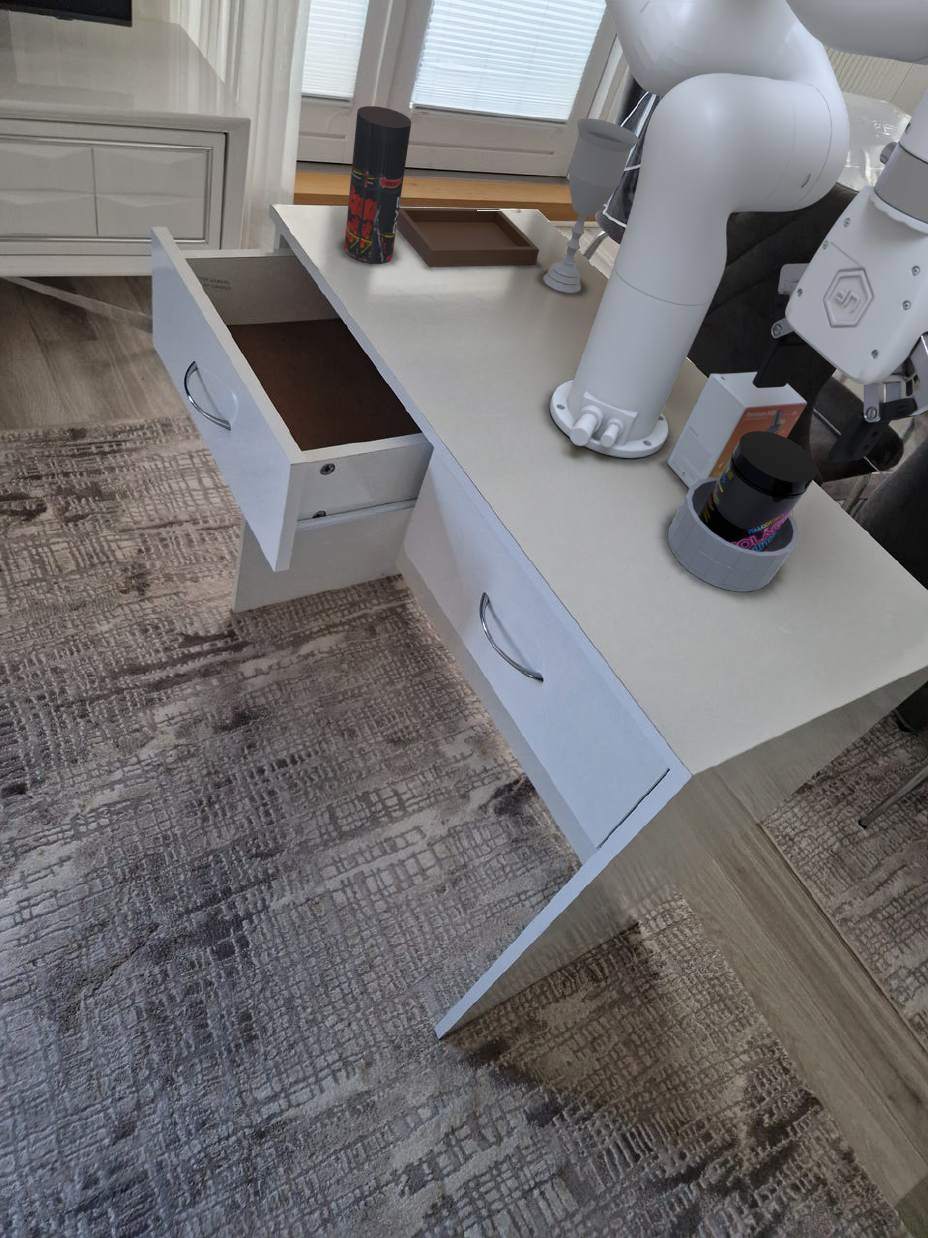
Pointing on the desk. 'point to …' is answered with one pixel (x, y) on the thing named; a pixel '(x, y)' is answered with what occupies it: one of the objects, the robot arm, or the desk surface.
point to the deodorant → (376, 183)
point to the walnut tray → (465, 237)
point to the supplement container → (758, 490)
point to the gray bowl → (724, 547)
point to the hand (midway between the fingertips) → (804, 420)
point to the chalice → (591, 187)
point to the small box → (730, 422)
